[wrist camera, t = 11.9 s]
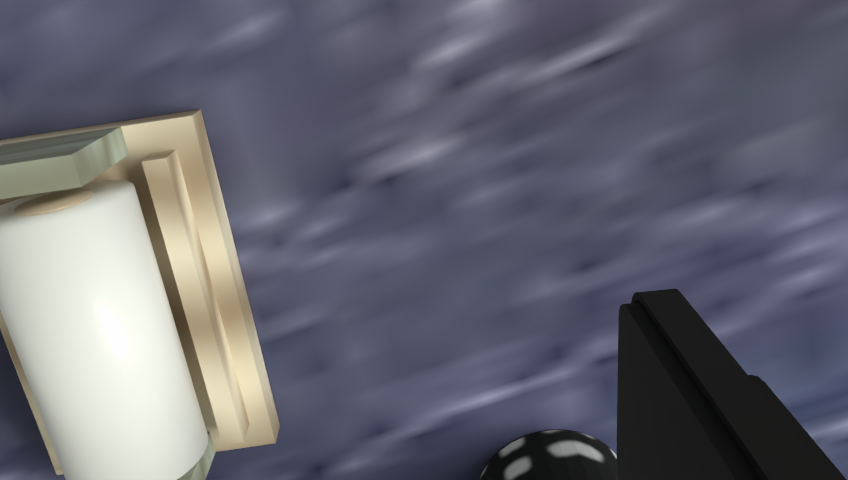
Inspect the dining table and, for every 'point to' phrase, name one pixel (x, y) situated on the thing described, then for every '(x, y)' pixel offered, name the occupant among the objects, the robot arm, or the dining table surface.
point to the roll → (98, 334)
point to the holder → (167, 259)
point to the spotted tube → (553, 458)
